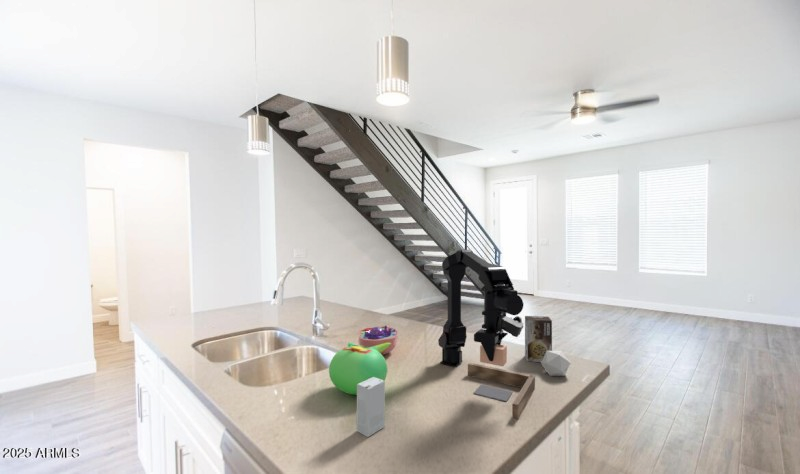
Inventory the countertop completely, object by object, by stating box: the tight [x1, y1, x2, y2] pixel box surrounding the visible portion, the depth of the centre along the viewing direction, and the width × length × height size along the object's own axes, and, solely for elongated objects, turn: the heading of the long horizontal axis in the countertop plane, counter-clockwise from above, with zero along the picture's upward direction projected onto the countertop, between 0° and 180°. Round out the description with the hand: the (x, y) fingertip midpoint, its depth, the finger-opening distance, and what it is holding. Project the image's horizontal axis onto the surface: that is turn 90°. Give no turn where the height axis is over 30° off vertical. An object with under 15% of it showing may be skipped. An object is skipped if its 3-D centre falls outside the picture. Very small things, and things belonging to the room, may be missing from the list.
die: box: [540, 350, 571, 377], centre depth 126 cm, size 8×9×10 cm
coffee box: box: [524, 315, 553, 363], centre depth 140 cm, size 9×6×16 cm
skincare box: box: [356, 377, 386, 438], centre depth 91 cm, size 6×4×12 cm
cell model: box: [357, 325, 399, 356], centre depth 148 cm, size 17×20×11 cm
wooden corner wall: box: [467, 362, 536, 421], centre depth 111 cm, size 22×22×4 cm
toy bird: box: [328, 341, 391, 396], centre depth 112 cm, size 18×17×15 cm
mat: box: [473, 384, 514, 403], centre depth 111 cm, size 10×7×1 cm
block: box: [479, 344, 508, 367], centre depth 111 cm, size 4×7×5 cm, turn 59°
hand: (493, 358), depth 111 cm, fingers closed on block, 4 cm apart
